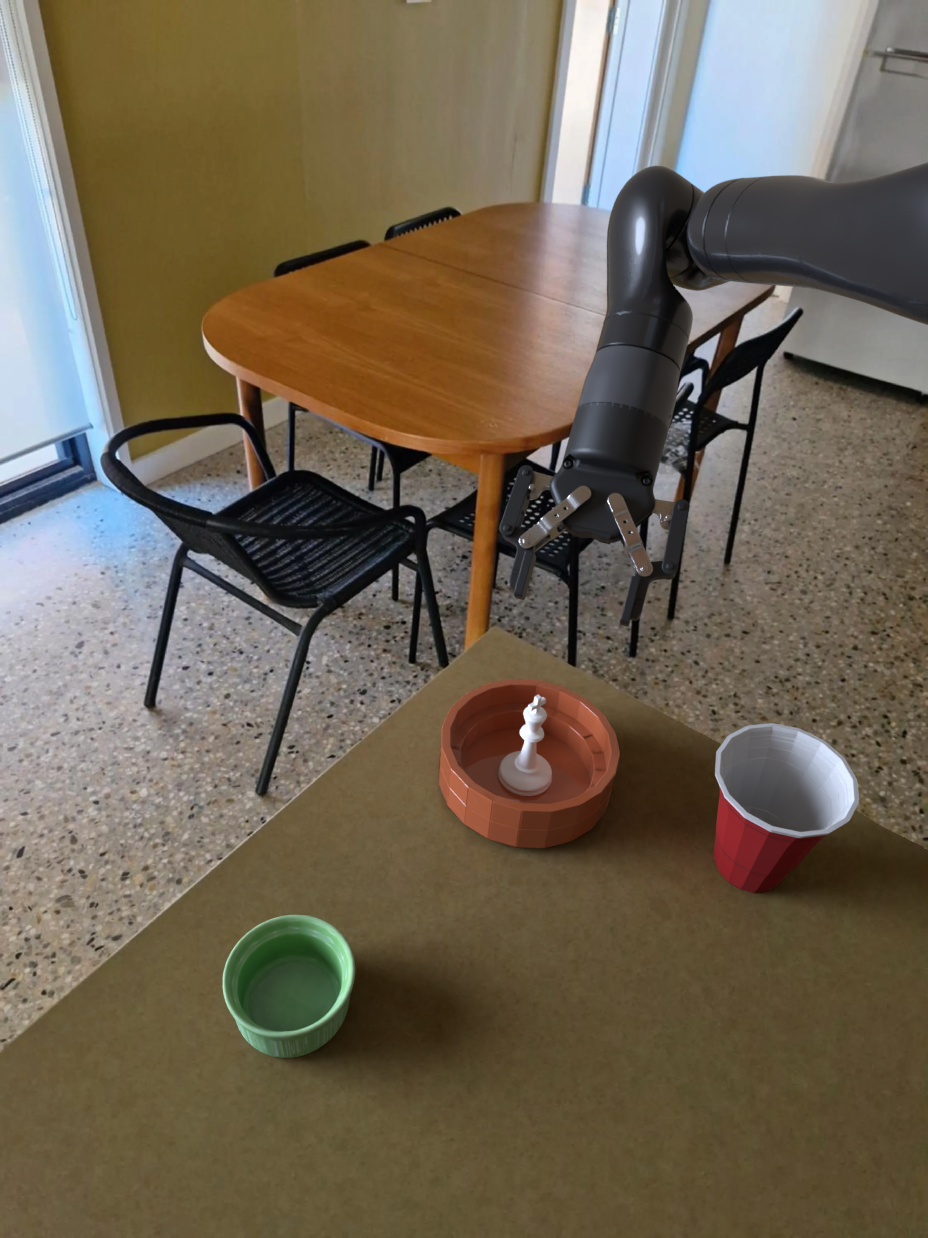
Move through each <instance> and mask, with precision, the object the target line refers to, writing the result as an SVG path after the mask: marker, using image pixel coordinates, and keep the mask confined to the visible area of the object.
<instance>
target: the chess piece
mask: <svg viewBox="0 0 928 1238" xmlns="http://www.w3.org/2000/svg"><path fill="white" fill-rule="evenodd" d="M545 703H546V699H545V698H544V697H541V696H540V695H536V696H535V697H534V702H532V703H531V704H529V705H528V707H527V708H526V709H525V710H524V719H525V721H526V724H525V725H523V726H522V728H521V729H520V735H521V737H522V738H523V739H524V740H525V741H524V745H523V747H522V750H521V751H516V752H513V753H510V754H508V755H507V756H506V757H505V758H504V759H503V760H502V762H501V764H500V767H499V770H498V776H499V779H500V782H501V783H502V785H503V786H504V787H505V788H506V789H508V790H509V791H511V792H512V793H515V794H517V795H521V796H535V795H538V794H541V793H543V792H544V791H545V790H547V789H548V787H549V786H550V784H551V781H552V770H551V767H550V765H549V763H548V762H547V761H546V760H545V759H544V758H543V757H542V756H540V755H538V754H536V744H537V742H539V741H541V740H542V739H543V737H544V731H543V729H542V727H541V725H542V724H543V723H544V721H545V720H546V718H547V713H546V711H545V710H544V709H543V708H542V707H540V706H542V705H543V704H545Z"/></svg>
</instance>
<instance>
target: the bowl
mask: <svg viewBox="0 0 928 1238" xmlns="http://www.w3.org/2000/svg"><path fill="white" fill-rule="evenodd" d="M536 695H540V696H541V697H544V698H545V699H546V703H545V704H543V705H542V706H540V707H542V708H543V709H544V710H545V711H546V713H547V718H546V720H545V721H544V723H543V724H542V725H541V727H542V729H543V731H544V737H543V739H542V740H541V741H539V742H537V744H536V754H538V755H540V756H542V757H543V758H544V759H545V760H546V761H547V762H548V763H549V765H550V767H551V770H552V781H551V784H550V786H549V787H548V789H547V790H545V791H544V792H543V793H541V794H538V795H535V796H521V795H517V794H515V793H512V792H511V791H509V790H508V789H506V788H505V787H504V786H503V785H502V783H501V782H500V779H499V776H498V770H499V767H500V764H501V762H502V760H503V759H504V758H505V757H506V756H507V755H508V754H510V753H513V752H516V751H521V750H522V747H523V745H524V741H525V740H524V739H523V738H522V737H521V735H520V729H521V728H522V726H523V725H525V724H526V721H525V719H524V710H525V709H526V708H527V707H528V705H529V704H531V703H532V702H534V697H535V696H536ZM440 731H441V733H440V745H439V747H440V748H439V759H438V785H439V788H440V791H441V793H442V795H443V798H444V801H445V803H446V805H447V807H448V808H449V809H450V810H451V811H452V812H453V814H455V815H456V817H457V818H458V819H459V821H461V823H462V824H463V825H464V826H466V827H468V828H469V829H472V830H473V831H474V832H476V833H478V834H479V835H481V836H482V837H484V838H486V839H487V840H491V841H494V842H498V843H500V844H504V845H507V846H510V847H515V848H530V849H547V848H550V847H554V846H558V845H559V846H560V845H563V844H566V843H571V842H572V841H574V840H576V839H577V838H579V837H581V836H583V834H586V833H587V832H589V831H590V830H592V829H593V828H594V827H595V825H596V824H597V823H598V821H600V819H601V817H602V816H603V815H604V814H605V812H606V811H607V808H608V805H609V801H610V797H611V792H612V789H613V785H614V781H615V778H616V774H617V770H618V765H619V761H620V757H621V750H620V746H619V740H618V736H617V733H616V730H615V729H614V727H613V726H612V724H611V723H610V721H609V720H608V718H607V716H606V715H605V714H604V712H603V711H601V710H600V709H599V708H598V707H597V706H596V705H594V703H592V701H590V700H588V698H586V697H585V696H583V695H581V694H579V693H577V692H575V691H573V690H570V689H569V688H567V687H565V686H563V685H560V684H556V683H553V682H547V681H544V680H540V679H530V678H529V679H527V678H509V679H508V678H507V679H503V680H497V681H492V682H488V683H485V684H482V685H481V686H478V687H476V688H474V689H472V690H470V691H468V692H466V693H465V694H464V695H462V696H461V697H460V698H459V699H458V700H457V701H456V702H455V703H454V704H453V705H452V706H451V707H450V708H449V710H448V712H447V714H446V717H445V718H444V721H443V723H442V726H441V730H440Z"/></svg>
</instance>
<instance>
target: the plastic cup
mask: <svg viewBox="0 0 928 1238" xmlns="http://www.w3.org/2000/svg"><path fill="white" fill-rule="evenodd" d="M714 776H715V778H716V781H717V783H718V785H719V786H718V788H719V799H718V805H717V806H718V807H717V815H716V824H715V840H714V849H713V857H714V863H715V866H716V869H717V871H718V873H719V874H720V875H721V876H722V877H723V879H725V880H726V881H727V883H729V884H731V885H732V886H734V887H735V888H738V889H739V890H742V891H745V892H748V893H749V892H750V893H754V894H756V893H767V892H769V891H771V890H773V889H774V888H776V887H777V886H779V885H780V884H781V883H782V882H783V881H784V880H785V879H786V878H787V876H789V874H790V873H791V872H792V871H793V870H795V869H797V867H798V866H799V865H800V864H801V863H802V862H803V860H804V859H805V858H806V857H807V856H808V855H809V854H810V853H811V852H812V850H813V849H815V847H816V846H817V845H818V844H819V842H821V840H823V838H825V837H827V836H828V835H829V834H831V833H833V832H834V831H836V830H838V829H839V828H842V827H843V826H844V825H846V824H848V823H849V822H850V821H851V819H852V817H853V815H854V813H855V811H856V809H857V807H858V805H859V804H860V795H859V783H858V782H859V781H858V779H857V777H856V775H855V773H854V771H853V769H852V768H851V766H850V764H849V763H848V762H847V760H846V758H845V757H844V756H843V755H841V754H840V752H838V751H837V750H836V749H835V748H834V747H833V746H832V745H830V744H829V743H828V742H827V741H826V740H824V739H822V738H820V737H818V736H816V735H814V734H812V733H810V732H808V731H806V730H803V729H802V728H799V727H796V726H795V727H794V726H789V725H785V724H780V723H775V722H769V723H759V724H750V725H745V726H743V727H742V728H739V729H738V730H736V731H733V732H732V733H730V734H728V735H727V736H726V738H725V739H724V740H723V742H722V743H721V744H720V745H719V747H718V749H717V750H716V751H715V766H714Z"/></svg>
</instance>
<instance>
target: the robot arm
mask: <svg viewBox="0 0 928 1238" xmlns="http://www.w3.org/2000/svg"><path fill="white" fill-rule="evenodd" d="M729 282H733V283H734V282H735V283H745V284H755V285H765V286H767V285H768V286H780V287H791V288H792V287H793V288H802V289H811V290H816V291H821V292H825V293H828V294H829V293H830V294H833V295H835V296H836V295H837V296H841V297H843V298H847V299H851V300H854V301H857V302H861V303H865V304H868V305H870V306H873V307H876V308H878V309H881V310H884V311H886V312H889V313H892V314H893V315H897V316H899V317H902V318H905V319H908V320H911V321H914V322H917V323H920V324H923V325H927V326H928V161H927V162H924V163H921V164H918V165H914V166H912V167H908V168H905V169H901V170H897V171H894V172H891V173H887V174H885V175H881V176H877V177H872V178H868V179H862V180H855V181H846V182H845V181H844V182H843V181H842V182H839V181H838V182H835V181H829V180H826V179H823V178H820V177H816V176H811V175H803V174H802V175H801V174H800V175H798V174H792V175H791V174H788V175H787V174H784V175H782V174H781V175H780V174H779V175H765V176H764V175H763V176H750V177H749V176H748V177H737V178H732V179H728V180H724V181H721V182H719V183H716V184H714V185H713V186H711V187H710V188H708V189H707V190H705V191H703V190H702V189H700V188H699V187H698V186H697V185H695V184H694V183H692V182H691V181H689V180H688V179H686V177H684V176H683V175H681V174H680V173H678V172H677V171H675V170H673V169H671V168H669V167H668V166H664V165H651V166H648V167H644V168H642V169H641V170H639V171H637V172H636V173H635V174H633V175H632V176H631V177H630V178H629V179H628V180H627V181H626V182H625V183H624V185H623V186H622V188H621V189H620V191H619V192H618V194H617V196H616V198H615V200H614V203H613V206H612V209H611V211H610V215H609V220H608V225H607V232H606V310H605V311H606V313H605V316H604V320H603V324H602V327H601V332H600V335H599V339H598V342H597V346H596V349H595V353H594V356H593V359H592V362H591V364H590V366H589V369H588V371H587V374H586V376H585V378H584V382H583V385H582V388H581V393H580V395H579V399H578V403H577V407H576V411H575V414H574V418H573V422H572V425H571V429H570V432H569V437H568V439H567V443H566V447H565V450H564V454H563V457H562V462H561V465H560V467H559V469H558V470H557V472H556V473H555V474H554V475H553V476H552V475H548V474H545V473H542V472H537V471H534V469H533V467H532V466H531V465H529V464H524V465H522V466H520V467H519V469H518V471H517V475H516V476H515V477H516V478H515V480H514V484H513V487H512V489H511V492H510V494H509V498H508V501H507V504H506V506H505V509H504V512H503V516H502V518H501V521H500V524H499V527H498V528H499V532H500V534H501V535H502V538H503V539H504V540H505V541H506V542H507V543H510V544H512V545H513V546H514V547H516V554H515V557H514V560H513V564H512V568H511V571H510V575H509V579H508V583H509V588H510V589H511V590H512V591H513V597H514V598H515V599H517V600H521V601H525V600H526V598H527V594H528V590H529V586H530V583H531V579H532V575H533V573H534V568H535V565H536V561H537V556H536V554H535V553H536V552H538V551H539V550H540V549H541V548H542V547H544V546H545V545H546V544H547V543H549V542H550V541H553V540H554V539H556V538H558V537H559V536H560V535H561V534H562V533H564V532H565V531H567V533H570V534H571V535H572V537H576V538H580V539H589V538H590V539H594V540H595V541H597V542H599V543H602V544H604V545H605V544H606V545H611V544H614V543H618V542H620V543H621V546H622V548H623V550H624V552H625V555H626V557H627V558H628V561H629V562H630V565H631V567H632V569H633V572H634V575H631V577H630V581H629V585H628V588H627V593H626V597H625V601H624V605H623V608H622V612H621V616H620V620H619V625H620V626H623V627H627V628H628V627H629V626H630V623H631V621H633V622H638V620H639V619H640V617H641V616H642V613H643V608H644V605H645V601H646V597H647V593H648V589H649V587H650V585H651V584H652V582H654V581H660V580H667V581H671V580H673V579H674V578H675V577H676V576H677V573H678V570H679V565H680V560H681V555H682V550H683V545H684V544H683V543H684V540H685V539H684V538H685V533H686V529H687V528H686V527H687V523H688V519H689V518H688V517H689V512H690V503H689V502H688V501H687V500H686V499H684V498H680V499H677V500H676V501H670V500H663V499H657V498H656V497H655V494H654V493H655V492H654V487H655V483H656V479H657V476H658V472H659V468H660V464H661V462H662V461H661V460H662V456H663V453H664V448H665V446H666V445H665V444H666V441H667V437H668V434H669V430H670V428H671V426H672V423H673V415H674V412H675V406H676V402H677V396H678V388H679V380H680V375H681V371H682V369H683V364H684V361H685V356H686V352H687V349H688V345H689V341H690V336H691V332H692V328H693V320H694V313H693V310H692V307H691V305H690V303H689V302H688V301H687V299H686V298H685V297H684V296H683V294H682V293H681V292H680V291H679V290H678V289H677V288H676V287H678V288H681V289H685V290H688V291H695V292H699V291H706V290H708V289H711V288H712V289H713V288H715V287H717V286H718V287H719V286H721V285H724V284H727V283H729ZM545 491H549V492H550V495H551V498H552V500H553V501H554V502H553V503H554V507H553V508H552V509H551V510H549V511H548V512H547V513H546V514H544V515H543V516H542V517H540V519H539V520H538V522H536V524H534V525H532V526H531V527H530V528H529V529H528V530H526V531H525V530H523V529H521V528H522V525H523V523H524V519H525V516H526V513H527V511H528V507H529V505H530V501H531V500H537V499H539V497H541V495H542V493H543V492H545ZM653 514H655V515H657V516H658V518H659V526H660V527H661V528H662V529H663V530H665V531H667V537H666V542H665V548H664V554H663V558H662V560H656V561H651V559H650V557H649V555H648V553H647V551H646V548H645V546H644V542H643V540H642V537H641V535H640V533H639V530H638V529H637V528H638V527H639V526H640V525H642V524H643V523H644V522H645V521H647V520H648V519H649V518H650V517H651V516H652V515H653Z"/></svg>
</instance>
